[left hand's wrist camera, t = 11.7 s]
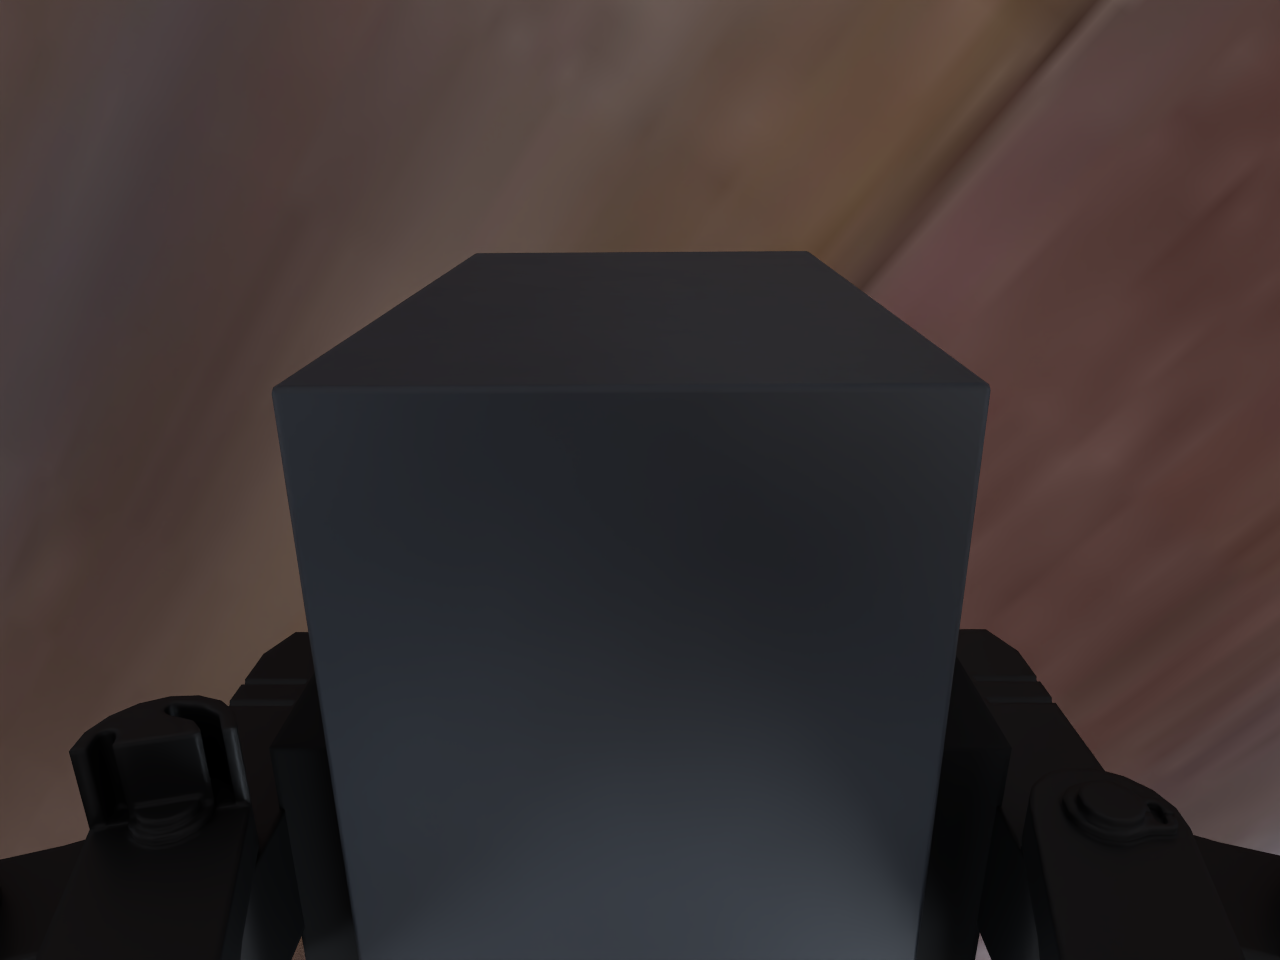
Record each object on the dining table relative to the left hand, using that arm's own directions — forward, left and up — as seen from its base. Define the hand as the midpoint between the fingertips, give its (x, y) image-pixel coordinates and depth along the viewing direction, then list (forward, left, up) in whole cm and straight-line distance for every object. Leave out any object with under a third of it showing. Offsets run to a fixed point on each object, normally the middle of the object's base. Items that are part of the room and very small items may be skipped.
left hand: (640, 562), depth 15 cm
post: (+26, -18, -1) cm, 32 cm away
